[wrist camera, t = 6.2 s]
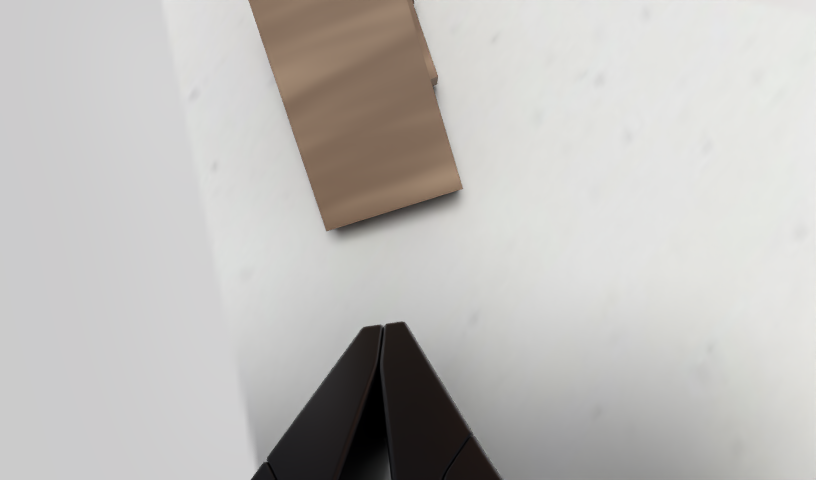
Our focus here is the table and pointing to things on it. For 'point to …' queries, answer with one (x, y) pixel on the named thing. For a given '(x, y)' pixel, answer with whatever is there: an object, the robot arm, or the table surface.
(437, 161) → the domino
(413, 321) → the table surface
